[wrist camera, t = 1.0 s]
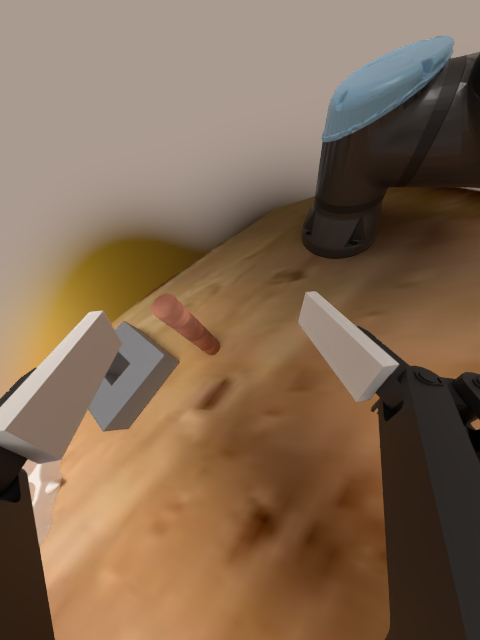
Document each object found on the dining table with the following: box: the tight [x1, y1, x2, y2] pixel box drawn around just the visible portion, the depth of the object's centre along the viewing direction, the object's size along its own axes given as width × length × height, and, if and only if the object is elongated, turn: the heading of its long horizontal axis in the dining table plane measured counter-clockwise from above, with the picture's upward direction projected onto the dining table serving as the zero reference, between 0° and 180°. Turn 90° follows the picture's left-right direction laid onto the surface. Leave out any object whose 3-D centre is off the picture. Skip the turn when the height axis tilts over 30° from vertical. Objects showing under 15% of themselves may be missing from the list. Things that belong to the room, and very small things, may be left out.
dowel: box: [151, 294, 220, 355], centre depth 27 cm, size 3×3×16 cm
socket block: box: [88, 321, 179, 431], centre depth 34 cm, size 14×14×5 cm
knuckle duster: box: [22, 459, 62, 546], centre depth 29 cm, size 3×18×15 cm
